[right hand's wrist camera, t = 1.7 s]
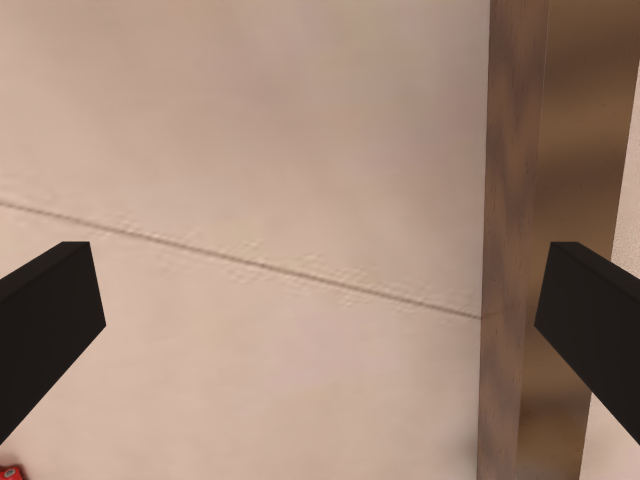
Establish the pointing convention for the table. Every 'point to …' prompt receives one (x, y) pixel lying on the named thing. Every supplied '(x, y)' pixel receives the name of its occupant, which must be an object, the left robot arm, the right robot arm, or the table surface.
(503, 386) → the post
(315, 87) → the table surface
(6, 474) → the tow hook
